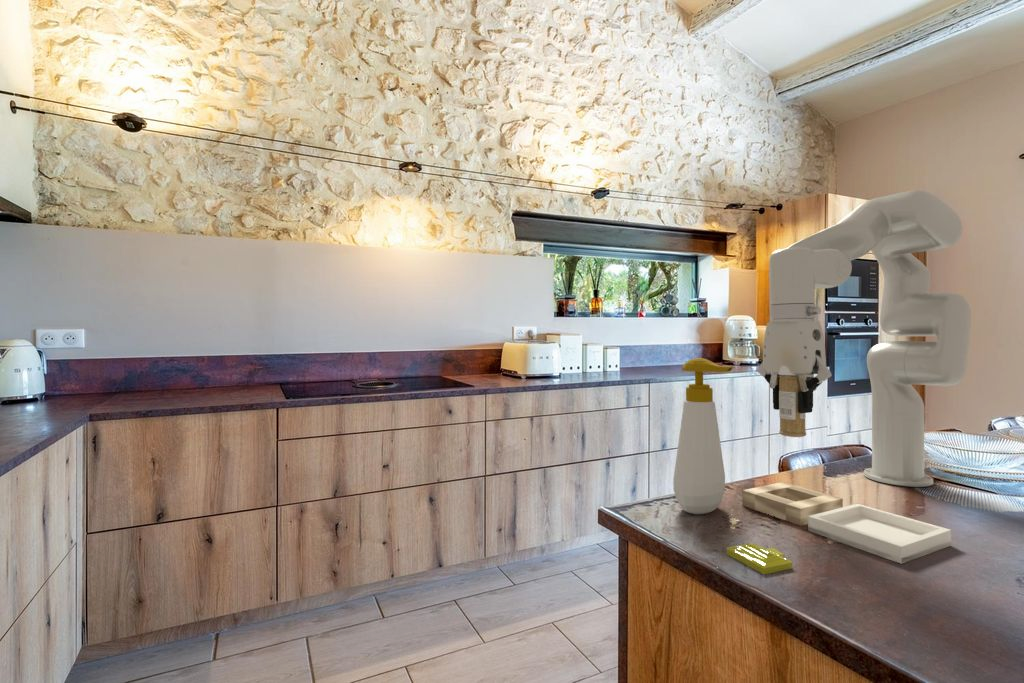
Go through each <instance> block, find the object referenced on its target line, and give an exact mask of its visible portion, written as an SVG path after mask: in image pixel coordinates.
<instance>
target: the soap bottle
mask: <svg viewBox="0 0 1024 683" xmlns="http://www.w3.org/2000/svg"><path fill="white" fill-rule="evenodd" d="M732 370H733V366H728V365H726V366H725V365H724V366H723V365H719V364H716V363H715V362H713V361H711V360H709V359H708V358H703V357H695V358H692V359H689V360H687V361H685V363H684V364H683V365H682V366H681V371H683V372H694V383H689V384H688V386H687V387H685V400H684V401H683V404H682V405H683V406H682V414H681V420H680V426H679V427H680V429H679V436H678V444H677V451H676V458H675V466H674V472H673V482H672V483H673V484H672V485H673V492H674V496H675V499H676V501H677V502H678V504H679V506H680V507H681V508H682V510H683V511H685V512H686V513H689V514H691V515H706V514H709V513H712V512H713V511H715V510H716V509H717V508H718V507H719V505H720V503H721V502H722V500H723V498H724V497H723V496H724V493H725V491H726V473H725V466H724V458H723V454H722V453H723V452H722V444H721V437H720V431H719V424H718V416H717V409H716V408H717V407H716V403H715V401H714V398H713V396H714V395H713V392H714V391H713V390H714V388H713V387H710V384H708V383H704V372H713V373H714V372H715V373H718V372H719V373H729V372H732Z"/></svg>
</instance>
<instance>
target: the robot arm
mask: <svg viewBox="0 0 1024 683" xmlns="http://www.w3.org/2000/svg"><path fill="white" fill-rule="evenodd" d="M962 233H963V223H962V220H961V218H960V216H959V214H958V212H956V210H954V208H952V207H950V205H948V204H947V203H945V202H944V201H942V199H940V198H939V197H937V196H936V195H934V194H932V193H930V192H927V191H926V190H920V189H913V190H908V191H903V192H899V193H894V194H889V195H886V196H885V195H884V196H880V197H875V198H872V199H871V198H870V199H868V200H866V201H865V202H862V203H861V204H859V205H858V206H857V207H856V208H855V209H853V210H852V211H851V212H850V213H848V214H847V215H846V216H844V217H843V218H842V219H841V220H840V221H839V222H837V223H835V224H834V225H831V226H829V227H826V228H824V229H822V230H820V231H818V232H816V233H813V234H812V235H809V236H808V237H805V238H803V239H800V240H798V241H797V242H794V243H793V244H791V245H789V246H788V247H787V248H782V249H777V250H775V251H773V252H772V253H771V254H770V255H769V256H770V257H769V261H768V262H769V269H768V278H769V285H768V286H769V289H768V290H769V322H766V326H765V331H764V339H763V349H762V350H763V351H762V362H761V363H760V365H759V366H758V368H757V373H759V374H760V375H761V376H762V378H764V380H765V381H766V382H767V383H768V384H769V388H770V389H771V390H772V404H773V405H772V408H773V410H776V411H779V374H778V373H779V371H780V368H781V366H786V367H788V369H789V371H790V373H793V374H795V375H798V378H799V383H800V387H801V391H798V412H799V413H805V414H807V413H808V414H809V413H812V412H813V407H814V392H815V391H817V388H818V387H819V386H820V385H822V383H823V382H825V381H827V380H828V379H829V378H831V377H832V375H833V374H832V372H831V371H830V369H829V368H828V366H827V358H826V346H825V338H824V332H823V329H822V325H821V322H820V321H819V320H816V315H820V314H821V313H822V309H821V307H820V306H816V290H820V289H821V290H823V289H831V288H836V287H839V286H840V285H843V284H844V283H845V282H847V281H848V279H849V278H850V276H851V274H852V270H853V268H852V267H853V264H852V261H853V260H857V259H859V258H861V257H863V256H865V255H867V254H868V253H869V252H872V255H873V256H874V258H875V259H876V261H877V264H878V265H879V267H880V268H881V271H882V274H883V290H882V297H881V306H880V313H879V314H880V316H879V324H880V327H881V330H882V331H883V332H884V333H885V334H887V335H890V336H894V337H896V336H897V337H936V340H935V341H924V340H923V341H915V340H890V341H889V340H888V341H883V342H880V343H877V344H875V345H873V346H872V347H870V349H869V350H868V352H867V355H866V366H867V371H868V375H869V380H870V387H871V467H868V468H865V469H864V470H863V475H864V476H865V478H868V479H870V480H872V481H875V482H879V483H883V484H888V485H894V486H899V487H900V486H901V487H911V488H924V487H930V486H933V485H934V478H933V477H932V476H930V475H927V474H926V473H925V469H927V468H930V467H931V462H930V460H928V459H925V404H924V401H923V399H922V396H921V395H920V394H919V392H918V391H917V390H916V389H915V388H914V386H913V385H921V386H922V385H923V386H924V385H925V386H935V387H937V386H938V387H940V386H941V387H949V386H951V387H952V386H956V385H958V384H959V383H961V382H962V381H963V379H964V377H965V375H966V372H967V365H968V358H969V347H970V346H969V345H970V336H971V328H972V327H971V326H972V325H971V324H972V311H971V306H970V304H969V302H968V300H967V298H965V296H964V295H962V294H960V293H956V292H948V291H947V292H931V293H930V288H931V276H932V275H931V273H930V270H929V269H928V267H926V266H925V264H924V263H923V262H922V261H921V260H919V259H918V258H917V257H916V256H914V255H913V254H912V253H921V252H929V251H937V250H938V251H939V250H943V249H948V248H950V247H952V246H954V245H956V243H958V241H959V240H960V239H961V237H962Z"/></svg>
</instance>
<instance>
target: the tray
mask: <svg viewBox="0 0 1024 683" xmlns="http://www.w3.org/2000/svg"><path fill="white" fill-rule="evenodd" d="M807 527H808V528H807V531H808V532H810V533H813V534H816V535H819V536H820V537H824V538H828V539H830V540H833V541H836V542H839V543H841V544H845V545H846V546H850V547H852V548H856V549H858V550H861V551H864V552H866V553H869V554H872V555H876V556H878V557H881V558H883V559H887V560H890V561H893V562H895V563H899V564H901V565H902V564H906V563H907V562H911V561H913V560H916V559H919V558H921V557H924V556H926V555H929V554H932V553H935V552H938V551H940V550H943V549H945V548H948V547H951V546H952V529H951V528H947V527H946V528H945V527H943V526H939V525H935V524H931V523H928V522H925V521H921V520H918V519H917V520H916V519H913V518H911V517H906V516H903V515H900V514H896V513H891V512H888V511H885V510H882V509H878V508H875V507H871V506H868V505H863V504H860V503H855V504H854V503H853V504H851V505H846V506H843V507H842V508H838V509H834V510H830V511H826V512H823V513H819V514H815V515H811V516H808V524H807Z"/></svg>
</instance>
